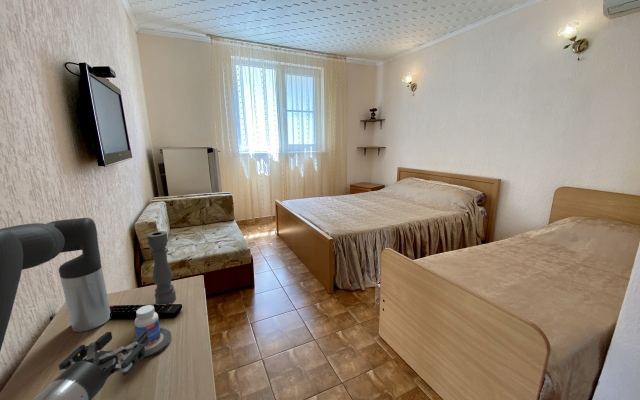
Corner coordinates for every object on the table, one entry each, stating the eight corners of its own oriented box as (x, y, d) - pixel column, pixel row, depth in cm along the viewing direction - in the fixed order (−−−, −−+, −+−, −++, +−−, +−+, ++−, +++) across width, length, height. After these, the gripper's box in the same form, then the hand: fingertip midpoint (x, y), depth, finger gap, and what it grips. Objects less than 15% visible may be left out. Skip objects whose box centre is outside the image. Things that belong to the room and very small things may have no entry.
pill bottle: (149, 350, 68) (144, 317, 66) (132, 346, 69) (126, 314, 67) (165, 335, 73) (161, 304, 71) (149, 332, 74) (144, 302, 72)
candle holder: (161, 296, 95) (151, 231, 89) (179, 295, 95) (170, 230, 90) (152, 306, 89) (141, 237, 83) (171, 305, 89) (162, 236, 84)
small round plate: (119, 353, 69) (118, 349, 68) (153, 328, 78) (153, 325, 78) (146, 363, 66) (146, 359, 65) (179, 336, 75) (179, 332, 74)
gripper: (101, 380, 46) (155, 320, 62) (20, 381, 46) (95, 321, 62) (108, 414, 48) (159, 347, 64) (30, 415, 48) (101, 348, 64)
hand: (128, 334), depth 63 cm, fingers open, 8 cm apart
